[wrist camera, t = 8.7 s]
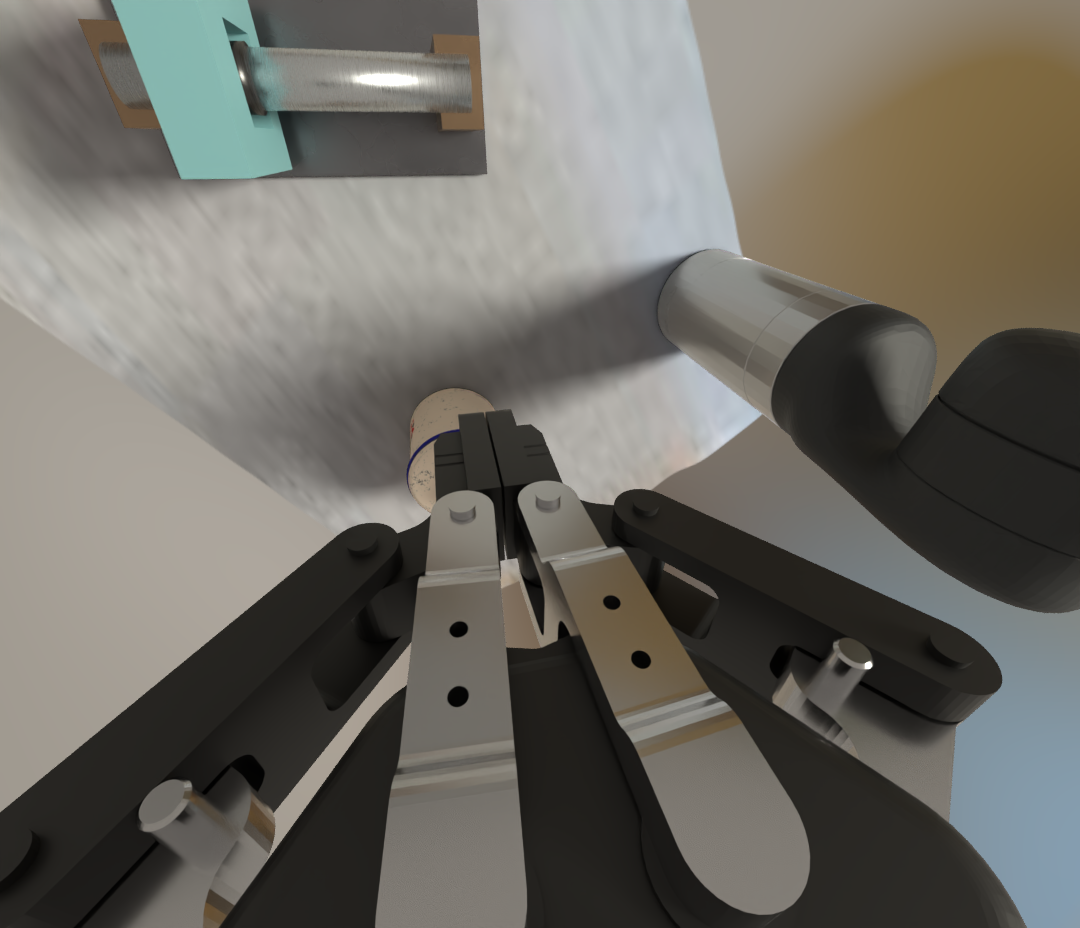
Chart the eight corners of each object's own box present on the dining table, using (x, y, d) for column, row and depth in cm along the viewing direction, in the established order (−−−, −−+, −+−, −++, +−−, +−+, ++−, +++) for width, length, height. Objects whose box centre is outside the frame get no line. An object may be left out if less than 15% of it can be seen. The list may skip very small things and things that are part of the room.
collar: (244, -11, 24) (172, -76, 17) (292, 169, 29) (252, 178, 21) (181, -15, 23) (78, -84, 16) (240, 169, 28) (181, 179, 21)
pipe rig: (475, 3, 28) (494, -41, 22) (485, 173, 34) (503, 181, 27) (109, -18, 25) (-5, -77, 18) (184, 177, 30) (118, 187, 23)
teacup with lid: (388, 410, 42) (381, 484, 33) (475, 368, 42) (493, 432, 33) (450, 495, 50) (458, 575, 40) (524, 460, 49) (550, 533, 40)
